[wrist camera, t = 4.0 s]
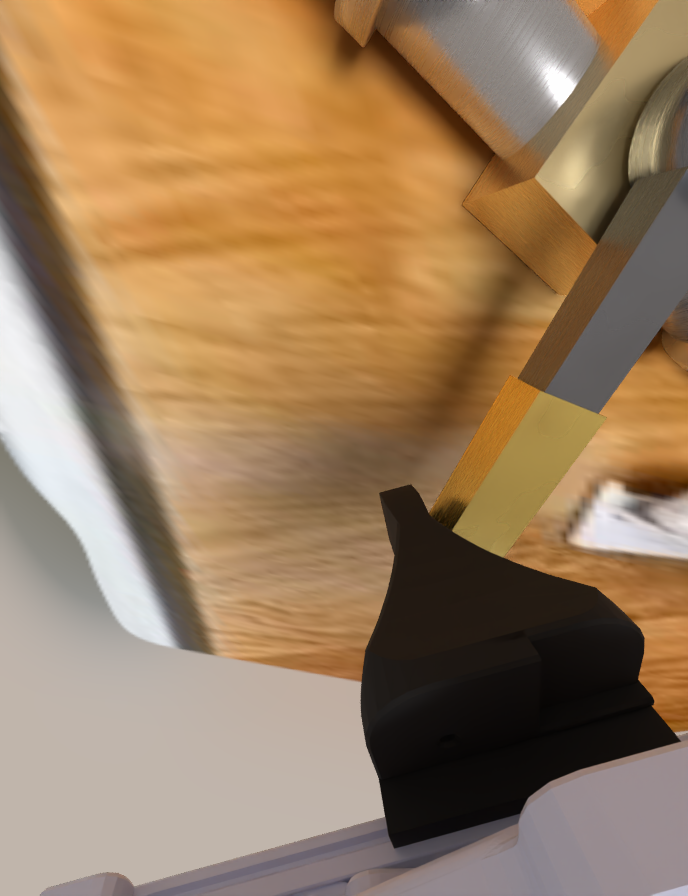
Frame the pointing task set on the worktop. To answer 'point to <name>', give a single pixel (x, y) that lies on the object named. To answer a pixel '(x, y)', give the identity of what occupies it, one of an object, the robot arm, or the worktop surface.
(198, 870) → the robot arm
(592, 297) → the lever
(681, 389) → the worktop surface
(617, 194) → the valve body
